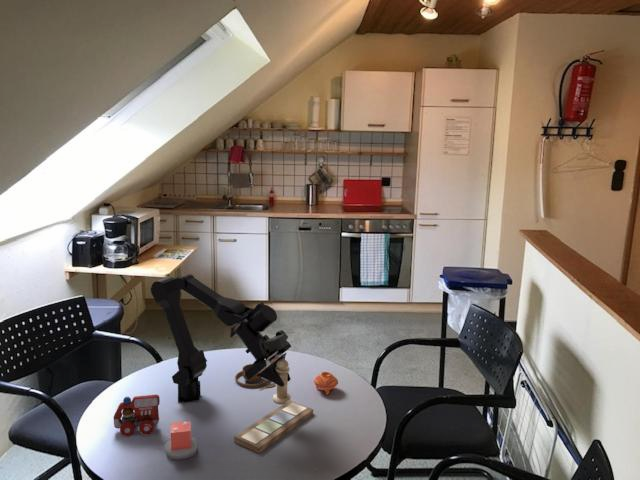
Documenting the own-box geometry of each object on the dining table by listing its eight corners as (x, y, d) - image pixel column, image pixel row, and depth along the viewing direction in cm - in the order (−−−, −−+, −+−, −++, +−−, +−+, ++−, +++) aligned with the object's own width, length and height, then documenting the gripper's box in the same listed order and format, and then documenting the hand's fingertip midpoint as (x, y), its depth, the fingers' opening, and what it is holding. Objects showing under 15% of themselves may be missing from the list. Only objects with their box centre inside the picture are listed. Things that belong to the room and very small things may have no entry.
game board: (259, 453, 144) (259, 447, 144) (233, 441, 149) (233, 436, 149) (313, 413, 164) (313, 408, 164) (289, 404, 169) (289, 399, 169)
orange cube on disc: (165, 461, 140) (164, 435, 138) (166, 443, 147) (165, 418, 146) (197, 457, 142) (196, 431, 140) (196, 440, 149) (195, 415, 148)
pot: (310, 394, 176) (311, 373, 176) (317, 389, 183) (318, 369, 183) (334, 397, 173) (335, 376, 174) (340, 392, 181) (341, 371, 181)
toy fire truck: (117, 424, 156) (115, 391, 154) (161, 421, 158) (160, 388, 156) (112, 438, 149) (110, 403, 147) (159, 434, 152) (158, 400, 150)
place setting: (223, 377, 188) (223, 361, 187) (269, 361, 201) (270, 346, 200) (252, 396, 175) (252, 379, 174) (300, 378, 189) (300, 362, 187)
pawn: (278, 406, 154) (279, 364, 152) (270, 398, 158) (270, 358, 156) (293, 401, 157) (294, 361, 154) (285, 394, 161) (285, 354, 158)
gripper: (253, 335, 146) (289, 382, 144) (286, 315, 163) (318, 356, 161) (229, 357, 151) (263, 402, 149) (263, 334, 168) (294, 375, 166)
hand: (286, 383), depth 156 cm, fingers closed on pawn, 3 cm apart
